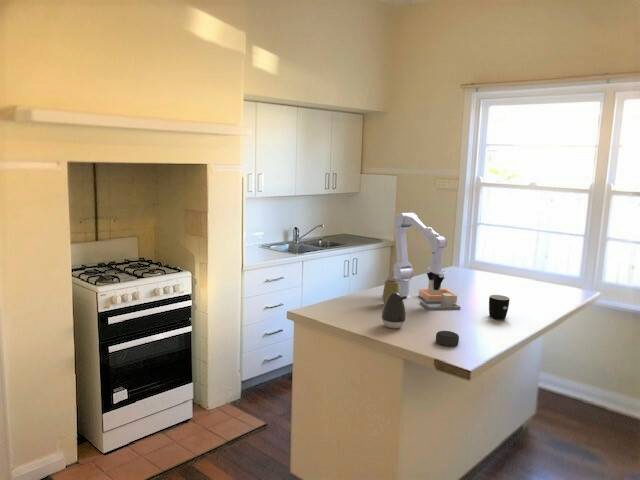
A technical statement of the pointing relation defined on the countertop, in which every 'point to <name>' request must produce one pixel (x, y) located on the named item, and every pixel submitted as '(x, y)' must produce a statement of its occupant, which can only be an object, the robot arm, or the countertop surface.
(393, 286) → the squeeze bottle
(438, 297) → the bin
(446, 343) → the smart speaker
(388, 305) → the pump dispenser
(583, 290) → the countertop surface
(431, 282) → the block
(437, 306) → the stone tray
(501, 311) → the mug
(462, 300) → the countertop surface
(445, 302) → the stone right
